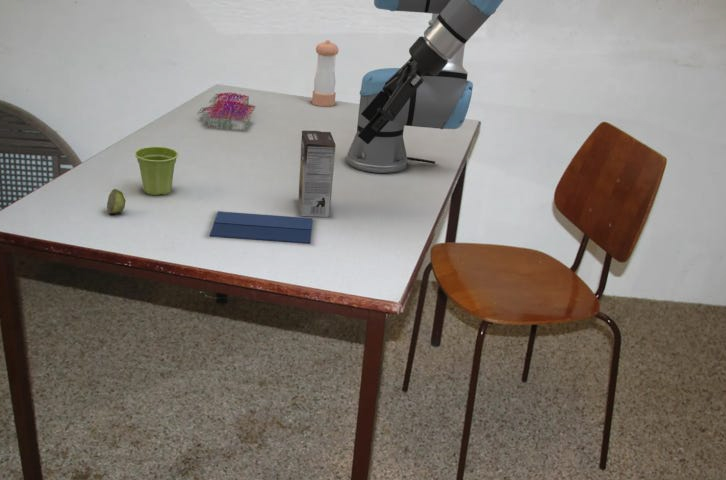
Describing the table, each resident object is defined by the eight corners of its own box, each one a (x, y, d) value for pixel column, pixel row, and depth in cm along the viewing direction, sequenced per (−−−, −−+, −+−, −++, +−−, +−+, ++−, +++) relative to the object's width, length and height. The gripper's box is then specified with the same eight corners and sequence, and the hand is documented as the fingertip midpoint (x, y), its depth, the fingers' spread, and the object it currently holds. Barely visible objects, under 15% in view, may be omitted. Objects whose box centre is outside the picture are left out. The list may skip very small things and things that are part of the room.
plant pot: (186, 187, 181) (185, 150, 176) (166, 201, 173) (165, 162, 168) (149, 180, 183) (148, 144, 179) (128, 194, 175) (126, 155, 171)
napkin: (312, 220, 168) (312, 218, 168) (310, 243, 158) (310, 241, 158) (218, 213, 169) (218, 211, 168) (209, 236, 158) (209, 233, 158)
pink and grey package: (213, 100, 247) (213, 83, 244) (262, 105, 246) (262, 88, 243) (191, 127, 221) (190, 109, 218) (244, 132, 220) (245, 114, 217)
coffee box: (297, 200, 178) (301, 129, 170) (325, 201, 178) (331, 130, 170) (300, 216, 170) (305, 142, 162) (330, 217, 170) (336, 143, 162)
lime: (116, 218, 163) (115, 195, 161) (99, 212, 165) (97, 189, 163) (131, 212, 166) (130, 189, 164) (114, 206, 168) (113, 184, 166)
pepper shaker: (310, 105, 249) (314, 41, 240) (313, 99, 256) (317, 37, 246) (333, 107, 249) (338, 43, 239) (336, 101, 255) (341, 39, 245)
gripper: (420, 20, 165) (354, 98, 175) (422, 51, 144) (346, 137, 154) (447, 44, 166) (380, 120, 177) (452, 78, 146) (376, 161, 156)
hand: (364, 128), depth 165 cm, fingers open, 13 cm apart
